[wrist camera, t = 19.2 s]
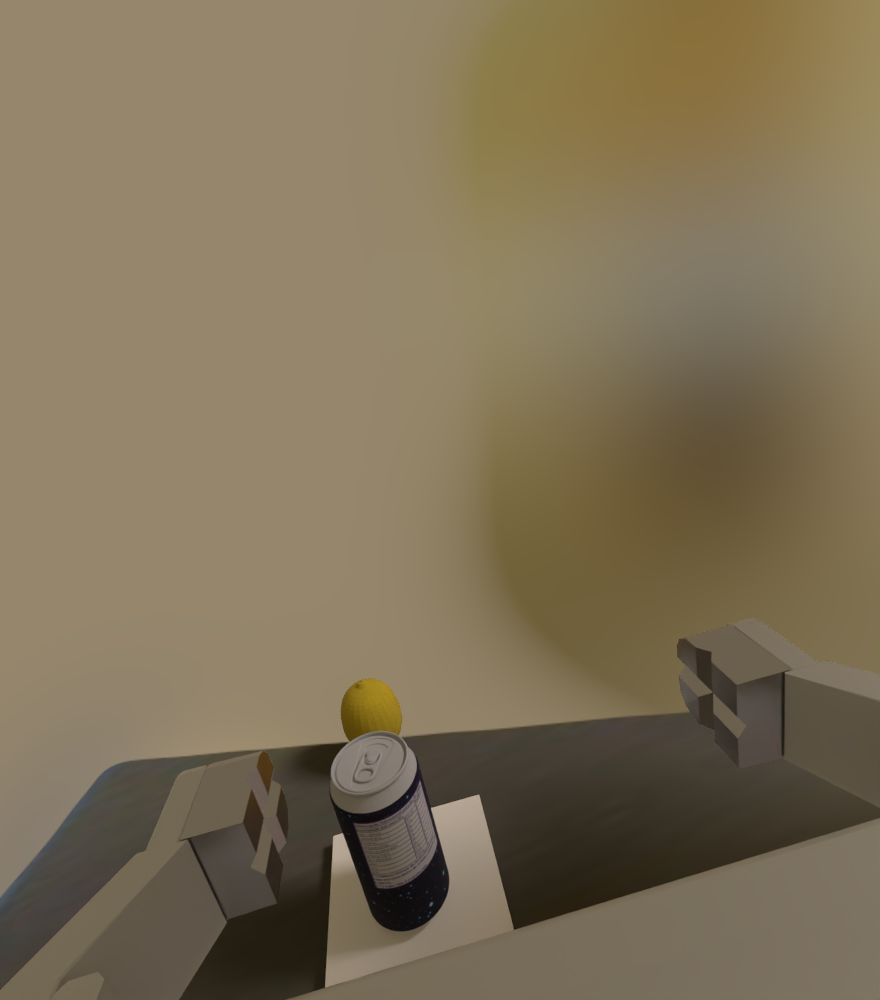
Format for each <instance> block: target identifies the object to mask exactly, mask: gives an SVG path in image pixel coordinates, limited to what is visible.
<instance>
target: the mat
mask: <svg viewBox="0 0 880 1000" xmlns="http://www.w3.org/2000/svg"><path fill="white" fill-rule="evenodd" d="M431 810H432V814H433V818H434V821H435V825H436V828H437V832H438V836H439V839H440V843H441V846H442V850H443V854H444V857H445V861H446V865H447V868H448V872H449V890H448V894H447V897H446V899H445V901H444V903H443V905H442V907H441V908H440V910H439V911H438V913H437V914H436V915H435V916H434V917H433V918H432V919H431V920H430V921H428V922H427V923H425V924H424V925H422V926H420V927H418V928H416V929H413V930H409V931H402V932H399V931H392V930H389V929H386V928H384V927H383V926H381V925H380V924H379V923H378V922H377V921H376V920H375V919H374V917H373V916H372V914H371V911H370V909H369V906H368V903H367V900H366V897H365V895H364V892H363V889H362V886H361V883H360V880H359V878H358V875H357V872H356V869H355V866H354V863H353V861H352V858H351V855H350V852H349V849H348V846H347V844H346V841H345V838H344V835H343V833H342V834H339V835H335V836H333V853H332V871H331V889H330V907H329V925H328V943H327V961H326V979H325V988H326V987H329V986H332V985H336V984H339V983H342V982H345V981H349V980H352V979H355V978H358V977H362V976H365V975H368V974H371V973H375V972H378V971H381V970H385V969H388V968H391V967H394V966H398V965H401V964H404V963H407V962H411V961H414V960H417V959H420V958H424V957H427V956H430V955H434V954H437V953H440V952H443V951H447V950H450V949H453V948H456V947H460V946H463V945H466V944H469V943H473V942H476V941H479V940H483V939H486V938H489V937H492V936H496V935H499V934H502V933H505V932H509V931H512V930H514V928H513V924H512V920H511V916H510V912H509V908H508V904H507V901H506V897H505V893H504V889H503V885H502V881H501V877H500V873H499V870H498V866H497V862H496V858H495V854H494V850H493V846H492V843H491V839H490V835H489V831H488V827H487V823H486V819H485V815H484V812H483V808H482V804H481V800H480V796H479V795H476V796H472V797H469V798H465V799H462V800H458V801H455V802H451V803H447V804H444V805H440V806H437V807H433V808H431Z"/></svg>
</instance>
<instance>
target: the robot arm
mask: <svg viewBox="0 0 880 1000" xmlns="http://www.w3.org/2000/svg"><path fill="white" fill-rule="evenodd" d="M677 656H678V658H679V659H680V660H681V661H682V662H683V663H684V664H685V666H684V668H683V670H682V671H681V673H680V675H679V680H680V681H679V682H680V690H681V693H682V696H683V699H684V701H685V704H686V706H687V707H688V709H689V711H690V712H691V714H692V715H693V717H694V718H695V719H696V720H697V721H698V722H699V724H700V725H703V726H705V727H708V728H710V729H713V730H714V731H715V742H716V743H717V744H718V745H719V746H720V747H721V749H722V750H723V751H724V752H725V753H726V754H727V755H728V756H729V758H730V759H731V760H732V761H733V762H734V763H735V764H736V765H737V766H738V768H742V767H746V766H750V765H754V764H758V763H762V762H766V761H769V760H773V759H777V758H781V757H784V759H785V760H787V761H789V762H791V763H793V764H795V765H797V766H799V767H801V768H803V769H805V770H807V771H809V772H811V773H813V774H814V775H816V776H818V777H820V778H822V779H824V780H826V781H828V782H830V783H832V784H834V785H836V786H838V787H840V788H842V789H844V790H846V791H848V792H850V793H852V794H854V795H856V796H858V797H860V798H862V799H863V800H865V801H867V802H869V803H871V804H873V805H875V806H877V807H879V808H880V674H876V673H872V672H868V671H864V670H860V669H857V668H853V667H849V666H845V665H841V664H838V663H834V662H830V661H824V662H820V663H819V662H817V661H816V660H815V659H813V658H812V657H810V656H809V655H807V654H806V653H805V652H803V651H801V650H800V649H799V648H797V647H796V646H795V645H793V644H792V643H790V642H789V641H787V640H786V639H784V638H783V637H782V636H780V635H779V634H777V633H776V632H775V631H773V630H772V629H770V628H769V627H767V626H766V625H765V624H763V623H762V622H760V621H759V620H757V619H752V618H749V619H745V620H742V621H738V622H735V623H732V624H728V625H727V626H725V627H720V628H717V629H713V630H710V631H706V632H702V633H699V634H695V635H691V636H688V637H684V638H681V639H679V641H678V644H677ZM273 769H274V766H273V764H272V762H271V759H270V757H269V755H268V753H266V752H264V751H261V752H257V753H253V754H249V755H245V756H240V757H236V758H232V759H228V760H224V761H220V762H216V763H212V764H210V765H205V766H201V767H197V768H194V769H190V770H186V771H183V772H182V773H181V774H180V775H178V777H177V778H176V780H175V783H174V785H173V787H172V790H171V792H170V795H169V797H168V799H167V802H166V804H165V806H164V809H163V811H162V813H161V816H160V818H159V821H158V823H157V825H156V828H155V830H154V832H153V835H152V837H151V839H150V842H149V844H148V846H147V849H146V851H144V852H141V853H137V854H136V855H135V856H134V857H133V858H132V859H131V860H130V861H129V862H128V863H127V864H126V865H125V866H124V867H123V868H122V869H121V870H120V871H119V872H118V873H117V874H116V875H115V876H114V877H113V878H112V879H111V880H110V881H109V882H108V883H107V884H106V885H105V886H104V887H103V888H102V889H101V890H100V891H99V892H98V893H97V894H96V895H95V896H94V897H93V898H92V899H91V900H90V901H89V902H88V903H87V904H86V905H85V906H84V907H83V908H82V909H81V910H80V911H79V912H78V913H77V914H76V915H75V916H74V917H73V918H72V919H71V920H70V921H69V922H68V923H67V924H66V925H65V926H64V927H63V928H62V929H61V930H60V931H59V932H58V933H57V934H56V935H55V936H54V937H53V938H52V939H51V940H50V941H49V942H48V943H47V944H46V945H45V946H44V947H43V948H42V949H41V950H40V951H39V952H38V953H37V954H36V955H35V956H34V957H33V958H32V959H31V960H30V961H29V962H28V963H27V964H26V965H25V966H24V967H23V968H22V969H21V970H20V971H19V972H18V973H17V974H16V975H15V976H14V977H13V978H12V979H11V980H10V981H9V982H8V983H7V984H6V985H5V986H4V987H3V988H2V989H1V990H0V1000H179V999H180V997H181V996H182V994H183V992H184V991H185V989H186V988H187V986H188V984H189V983H190V981H191V980H192V978H193V976H194V975H195V973H196V972H197V970H198V968H199V967H200V965H201V964H202V962H203V960H204V959H205V957H206V956H207V954H208V952H209V951H210V949H211V948H212V946H213V944H214V943H215V941H216V940H217V938H218V936H219V935H220V933H221V932H222V930H223V928H224V927H225V925H226V924H227V921H226V920H227V919H230V918H233V917H236V916H239V915H242V914H246V913H249V912H252V911H255V910H258V909H261V908H264V907H267V906H270V905H273V904H276V903H277V901H278V895H279V888H280V882H281V875H282V869H283V864H282V862H281V859H280V856H279V854H278V853H279V851H280V850H281V848H282V847H283V846H284V844H285V843H286V842H287V834H288V808H287V804H286V799H285V795H284V792H283V790H282V787H281V785H279V784H277V783H276V782H274V781H272V780H271V779H272V774H273ZM287 1000H880V818H878V819H875V820H872V821H868V822H865V823H862V824H859V825H855V826H852V827H849V828H845V829H842V830H839V831H836V832H832V833H829V834H826V835H823V836H819V837H816V838H813V839H810V840H806V841H803V842H800V843H796V844H793V845H790V846H787V847H783V848H780V849H777V850H774V851H770V852H767V853H764V854H760V855H757V856H754V857H751V858H747V859H744V860H741V861H738V862H734V863H731V864H728V865H724V866H721V867H718V868H715V869H711V870H708V871H705V872H702V873H698V874H695V875H692V876H688V877H685V878H682V879H679V880H675V881H672V882H669V883H666V884H662V885H659V886H656V887H652V888H649V889H646V890H643V891H639V892H636V893H633V894H629V895H626V896H623V897H620V898H616V899H613V900H610V901H607V902H603V903H600V904H597V905H594V906H590V907H587V908H584V909H581V910H577V911H574V912H571V913H567V914H564V915H561V916H558V917H554V918H551V919H548V920H545V921H541V922H538V923H535V924H532V925H528V926H525V927H522V928H518V929H515V930H512V931H509V932H505V933H502V934H499V935H496V936H492V937H489V938H486V939H483V940H479V941H476V942H473V943H469V944H466V945H463V946H460V947H456V948H453V949H450V950H447V951H443V952H440V953H437V954H434V955H430V956H427V957H424V958H420V959H417V960H414V961H411V962H407V963H404V964H401V965H398V966H394V967H391V968H388V969H385V970H381V971H378V972H375V973H371V974H368V975H365V976H362V977H358V978H355V979H352V980H349V981H345V982H342V983H339V984H336V985H332V986H329V987H326V988H322V989H319V990H316V991H313V992H309V993H306V994H303V995H300V996H296V997H293V998H290V999H287Z"/></svg>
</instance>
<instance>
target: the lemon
mask: <svg viewBox="0 0 880 1000" xmlns="http://www.w3.org/2000/svg"><path fill="white" fill-rule="evenodd" d="M341 719H342V724H343V729H344V732H345V734H346V736H347V738H348V740H349V741H352V740H354V739H355V738H357V737H359V736H361V735H364V734H367V733H370V732H376V731H387V732H392V733H395V734H397V735H399V733H400V730H401V724H402V715H401V710H400V705H399V702H398V700H397V698H396V696H395V695H394V693H393V691H392V690H391V689H390V688H389V686H388V685H386V684H385V683H384V682H382V681H380V680H377V679H363V680H360V681H358V682H356V683H354V684H353V685H352V686H351V687H350V688H349V689H348V690H347V692H346V693H345V695H344V697H343V700H342V706H341Z"/></svg>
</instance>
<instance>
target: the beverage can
mask: <svg viewBox="0 0 880 1000" xmlns="http://www.w3.org/2000/svg"><path fill="white" fill-rule="evenodd" d="M330 798H331V801H332V804H333V807H334V809H335V812H336V815H337V818H338V821H339V824H340V826H341V829H342V832H343V835H344V838H345V841H346V844H347V846H348V849H349V852H350V855H351V858H352V861H353V863H354V866H355V869H356V872H357V875H358V878H359V880H360V883H361V886H362V889H363V892H364V895H365V897H366V900H367V903H368V906H369V909H370V911H371V914H372V916H373V917H374V919H375V920H376V921H377V922H378V923H379V924H380V925H381V926H383V927H384V928H386V929H389V930H392V931H399V932H402V931H409V930H413V929H416V928H418V927H420V926H422V925H424V924H425V923H427V922H428V921H430V920H431V919H432V918H433V917H434V916H435V915H436V914H437V913H438V911H439V910H440V908H441V907H442V905H443V903H444V901H445V899H446V897H447V894H448V890H449V872H448V868H447V865H446V861H445V857H444V854H443V850H442V846H441V843H440V839H439V836H438V832H437V828H436V825H435V821H434V818H433V814H432V810H431V807H430V803H429V799H428V796H427V792H426V789H425V785H424V781H423V778H422V774H421V770H420V767H419V763H418V760H417V757H416V755H415V754H414V752H413V751H412V750H411V749H410V748H409V747H407V745H406V743H405V741H404V740H403V739H402V738H401V737H400V736H398V735H397V734H395V733H392V732H387V731H376V732H370V733H367V734H364V735H361V736H359V737H357V738H355V739H354V740H352V741H350V742H349V743H348V744H346V745H345V746H344V747H343V748H342V749H341V750H340V752H339V753H338V754H337V756H336V757H335V759H334V761H333V763H332V766H331V783H330Z"/></svg>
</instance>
